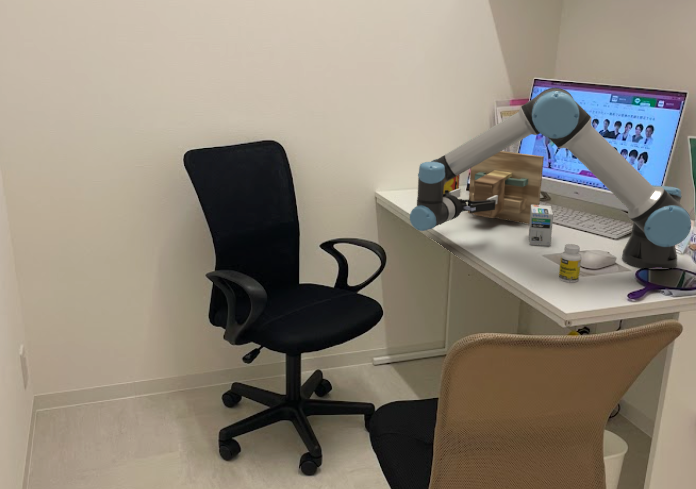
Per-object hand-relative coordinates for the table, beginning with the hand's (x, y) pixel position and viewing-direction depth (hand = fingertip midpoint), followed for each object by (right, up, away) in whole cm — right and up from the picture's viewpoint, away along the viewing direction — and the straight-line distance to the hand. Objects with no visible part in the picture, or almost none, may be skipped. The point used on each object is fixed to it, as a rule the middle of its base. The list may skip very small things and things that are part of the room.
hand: (477, 195), depth 231 cm
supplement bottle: (+19, -26, -36) cm, 48 cm away
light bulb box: (+19, -15, -3) cm, 25 cm away
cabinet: (+7, -4, +13) cm, 16 cm away
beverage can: (-2, +5, +56) cm, 56 cm away
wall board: (+12, -7, +20) cm, 25 cm away
